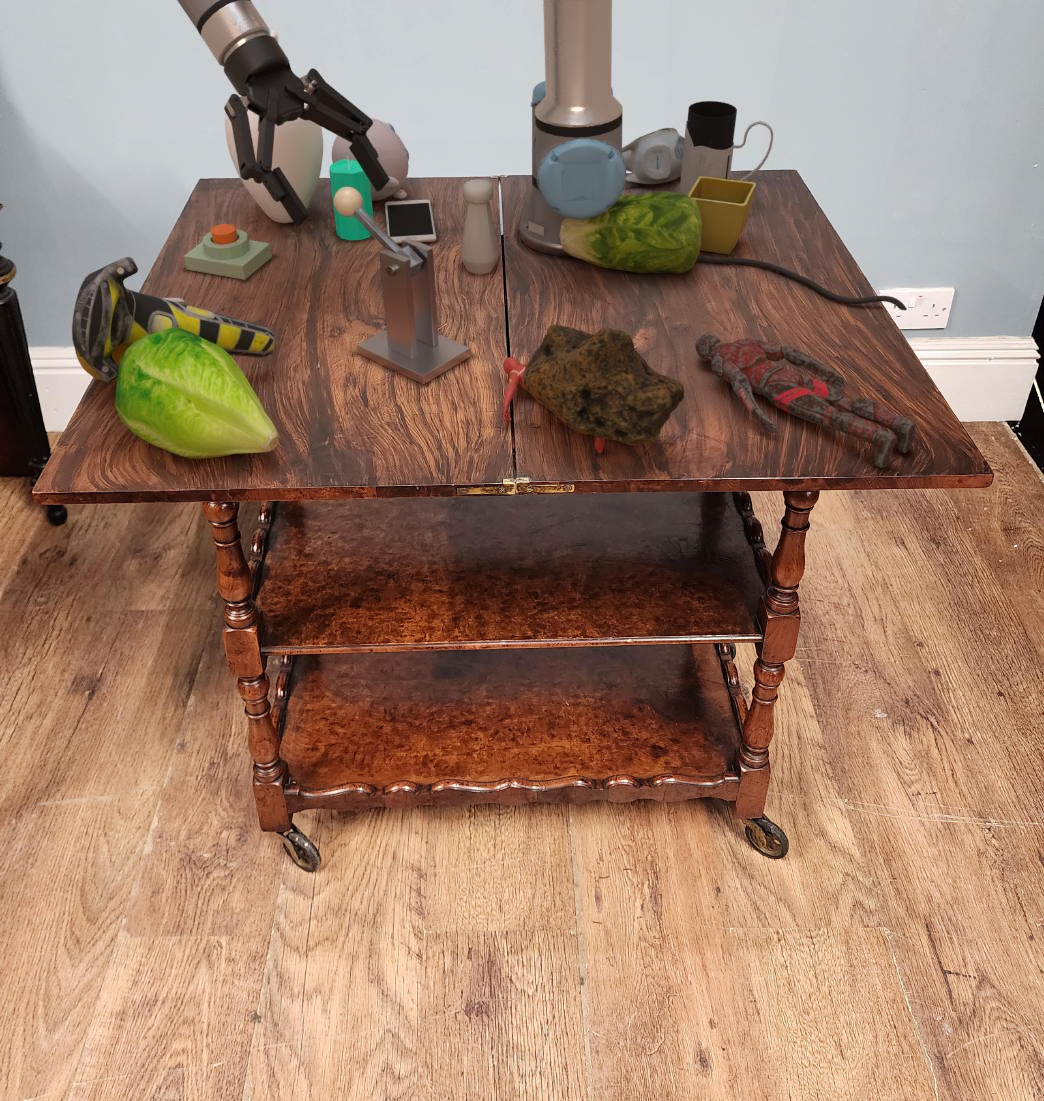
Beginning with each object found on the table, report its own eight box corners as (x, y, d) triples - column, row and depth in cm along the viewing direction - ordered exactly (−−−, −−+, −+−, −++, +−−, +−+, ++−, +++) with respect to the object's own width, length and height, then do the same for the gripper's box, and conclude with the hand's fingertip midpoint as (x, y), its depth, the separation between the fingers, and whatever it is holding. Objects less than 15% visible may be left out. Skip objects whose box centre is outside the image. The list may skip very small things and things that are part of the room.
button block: (272, 256, 164) (268, 231, 161) (245, 280, 158) (240, 254, 155) (215, 247, 166) (210, 222, 164) (186, 269, 161) (180, 244, 158)
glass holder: (680, 189, 182) (689, 97, 172) (765, 198, 179) (779, 105, 169) (671, 210, 175) (680, 116, 166) (759, 220, 172) (773, 124, 163)
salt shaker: (485, 280, 158) (482, 194, 149) (452, 271, 160) (448, 185, 151) (506, 265, 161) (505, 179, 153) (474, 256, 164) (472, 171, 155)
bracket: (357, 353, 142) (345, 248, 132) (405, 327, 147) (397, 223, 138) (423, 385, 136) (415, 277, 127) (471, 356, 142) (467, 250, 132)
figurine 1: (664, 419, 131) (550, 349, 141) (667, 394, 128) (552, 325, 139) (569, 473, 123) (456, 395, 133) (571, 448, 120) (455, 370, 131)
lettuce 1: (252, 512, 126) (214, 479, 114) (121, 430, 130) (72, 390, 119) (320, 417, 128) (290, 374, 117) (189, 339, 132) (147, 291, 121)
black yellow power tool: (313, 298, 130) (276, 285, 137) (90, 251, 112) (61, 239, 120) (290, 412, 133) (255, 394, 140) (70, 383, 116) (43, 364, 123)
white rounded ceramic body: (712, 133, 177) (700, 122, 186) (597, 132, 176) (590, 121, 184) (707, 187, 182) (695, 174, 190) (594, 187, 180) (587, 173, 189)
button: (242, 237, 160) (240, 226, 159) (229, 247, 158) (227, 236, 157) (221, 233, 161) (219, 222, 160) (208, 243, 159) (205, 232, 158)
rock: (620, 360, 109) (499, 301, 122) (608, 464, 115) (494, 398, 128) (710, 336, 116) (587, 284, 129) (694, 436, 122) (578, 376, 135)
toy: (380, 112, 165) (377, 88, 177) (313, 151, 167) (314, 124, 179) (427, 195, 173) (420, 167, 185) (363, 231, 175) (360, 200, 187)
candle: (368, 242, 167) (360, 165, 159) (331, 238, 168) (321, 162, 160) (379, 225, 172) (372, 150, 164) (343, 222, 173) (335, 147, 165)
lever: (324, 207, 135) (331, 185, 132) (346, 198, 137) (352, 176, 134) (400, 285, 134) (408, 266, 131) (420, 275, 136) (428, 255, 133)
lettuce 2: (561, 244, 165) (560, 176, 157) (697, 245, 164) (703, 176, 156) (557, 288, 158) (556, 219, 149) (700, 289, 156) (707, 219, 148)
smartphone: (387, 241, 166) (384, 201, 177) (388, 245, 166) (384, 205, 177) (436, 238, 166) (430, 198, 178) (437, 242, 167) (430, 202, 178)
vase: (303, 244, 166) (275, 52, 148) (223, 229, 170) (187, 40, 152) (348, 208, 176) (327, 24, 158) (272, 195, 180) (243, 14, 162)
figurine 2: (930, 436, 128) (732, 340, 144) (941, 401, 124) (737, 306, 141) (858, 487, 120) (658, 379, 137) (867, 451, 117) (662, 345, 134)
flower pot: (680, 254, 164) (685, 197, 158) (693, 231, 170) (699, 174, 164) (737, 263, 161) (745, 205, 156) (749, 239, 168) (757, 182, 162)
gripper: (312, 46, 143) (401, 187, 145) (153, 96, 128) (255, 250, 131) (335, 10, 137) (427, 157, 139) (171, 57, 122) (277, 220, 125)
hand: (344, 202), depth 135 cm, fingers open, 13 cm apart
